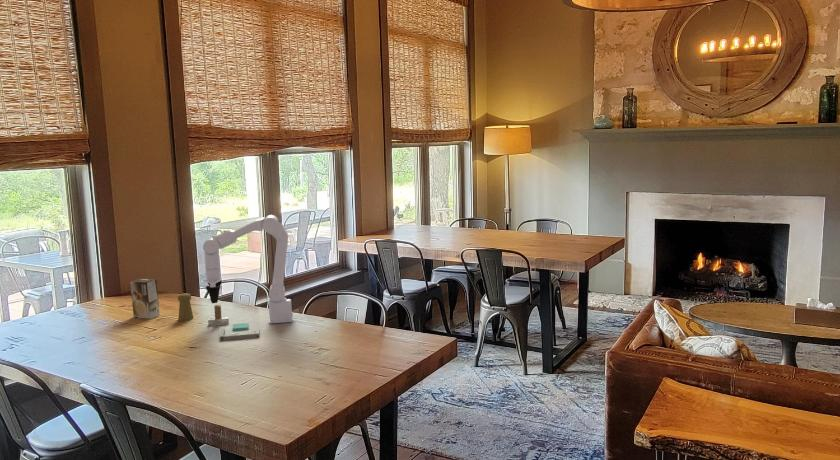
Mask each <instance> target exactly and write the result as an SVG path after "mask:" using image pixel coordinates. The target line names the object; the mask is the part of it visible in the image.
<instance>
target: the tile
mask: <svg viewBox="0 0 840 460" xmlns="http://www.w3.org/2000/svg"><path fill="white" fill-rule="evenodd" d="M249 324H250V323H249V322H245V323H244V322H243V323H232V331H233V332H238V331H248V330H249V326H250V325H249Z"/></svg>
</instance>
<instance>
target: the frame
mask: <svg viewBox="0 0 840 460" xmlns="http://www.w3.org/2000/svg"><path fill="white" fill-rule="evenodd" d="M220 330H221V331H220V335H219V339H220V342H221V341H229V340H230V341H232V340H244V339H255V338H260V325H256V326H255V332H251V333H250V332H249V333H238V334H227V335H225V334H226V333H225V332H226V329H225V328H221V329H220Z"/></svg>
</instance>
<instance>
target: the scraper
mask: <svg viewBox="0 0 840 460" xmlns="http://www.w3.org/2000/svg"><path fill="white" fill-rule="evenodd" d="M229 320H230V318H229V317H228V316H226V317H223V316H222V304H214V317H213V318H208V319H207V323H208V325H207V326H209V327H210V326H211V327H212V326H222V325H223V326H224V325H225V326H226V325H229V324H230V321H229Z"/></svg>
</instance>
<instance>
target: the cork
mask: <svg viewBox="0 0 840 460" xmlns="http://www.w3.org/2000/svg"><path fill="white" fill-rule="evenodd" d="M191 299H192V295H191V294H190V293H186V292H184V293H179V294H178V296H177V300H178V302H179V303H178V304H179V307H178V318H177V319H178V321H180V322H186V321H187V322H188V321H191V320H193V319H194V314H193V311H192V304H191Z"/></svg>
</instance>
